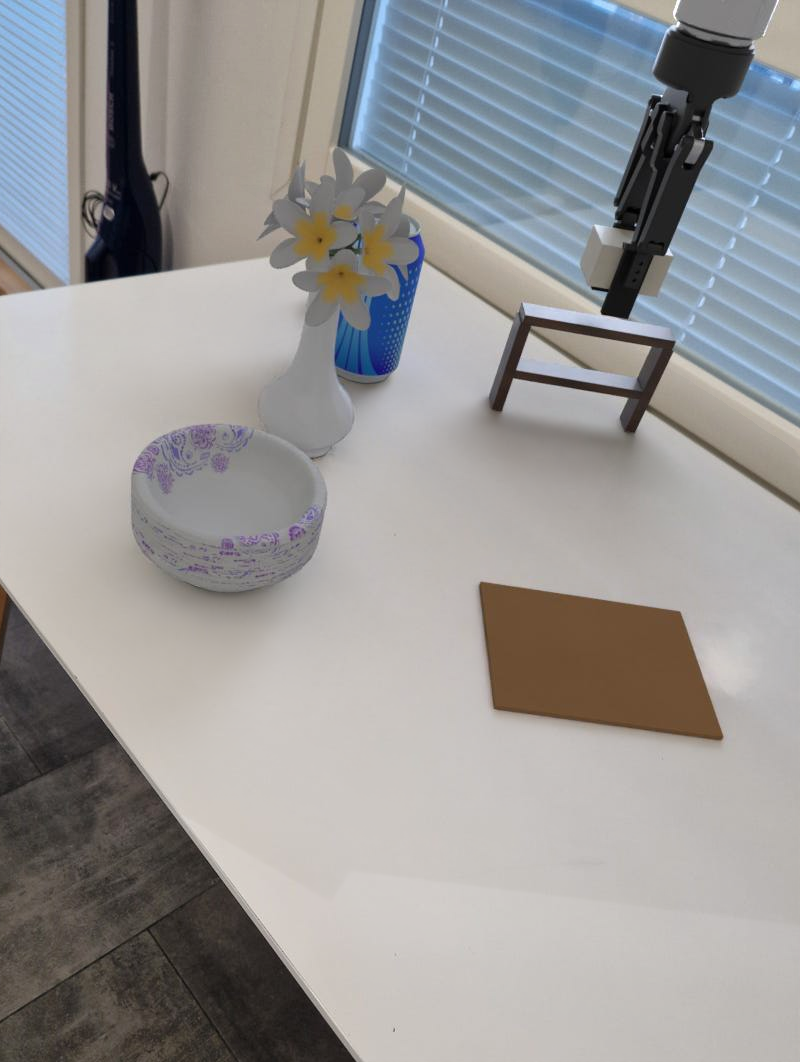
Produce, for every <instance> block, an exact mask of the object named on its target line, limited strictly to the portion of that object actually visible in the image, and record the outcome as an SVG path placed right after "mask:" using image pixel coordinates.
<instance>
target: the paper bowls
mask: <svg viewBox="0 0 800 1062" xmlns="http://www.w3.org/2000/svg"><path fill="white" fill-rule="evenodd" d="M131 470H132V471H131V476H130V489H131V490H130V492H131V493H130V512H131V513H130V525H131V530H132V535H133V538H134V541H135V542H136V544H137V546H138V548H139V550H141V552H142V553H143V555H144V556H145V557H146V558H147V559H148V560H149V561H151V563H152V564H153V565H155V566H156V567H157V568H158V569H160V570H161V571H163V572H164V573H166V574H168V575H169V576H171V577H173V578H175V579H177V580H179V581H182V582H185V583H188V584H190V585H192V586H194V587H197V588H201V589H203V590H208V591H212V592H218V593H241V592H246V591H250V590H254V589H257V588H262V587H263V588H264V587H267V586H271V585H275V584H278V583H280V582H281V581H284V580H286V579H288V578H290V577H292V576H293V575H295V574H297V573H298V572H299V571H301V570H302V569H303V567H305V566H306V565H307V564H308V563H309V561H310V560H311V559H312V558H313V556H314V554H315V552H316V550H317V548H318V546H319V541H320V536H321V534H322V533H321V532H322V528H323V522H324V518H325V512H326V510H327V505H328V489H327V485H326V481H325V479H324V477H323V474H322V472H321V470H320V469H319V467H318V466H317V465H316V463H315V462H314V461H313V460H312V458H309V457H308V456H307V455H306V454H305V453H303V452H302V451H301V450H300V449H298V448H297V447H295V446H294V445H292V444H291V443H289V442H287V441H286V440H283V439H281V438H279V437H277V436H275V435H272V434H270V433H269V432H268V431H265V430H260V429H258V428H254V427H249V426H243V425H239V424H230V423H229V424H227V423H206V424H205V423H204V424H195V425H190V426H186V427H181V428H178V429H175V430H172V431H170V432H167V433H165V434H162V435H161V436H159V437H157V438H155V439H154V440H152V441H151V442H150V443H149V444H148V445H147V446H145V448H143V450H142V451H141V453H140V454H139V455H138V456H137V457H136V459H135V462H134V464H133V468H132V469H131Z"/></svg>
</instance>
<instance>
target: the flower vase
mask: <svg viewBox="0 0 800 1062" xmlns="http://www.w3.org/2000/svg"><path fill="white" fill-rule="evenodd" d="M332 162H333V168H334V173H335V178H334V176H331V175H328V174H323V175H320V177H319V182H320V183H316V182H315V181H312V180H311V181H310V180H307V181H305V180H306V167H307V157H305V158H304V159H303V162H302V164H298V165H297V167H296V168H295V170H294V172H293V174H292V177H291V179H290V182H289V185H288V188H287V193H286V194H285V195H284V197H283V198H278V199H276V200H274V202H273V203H272V206H271V209H272V210H271V212H270V213H269V214H268V215H267V217H266V218H265V220H264V222H263V225H264V226H266V228H265V229H264V230H263V231H262V232H261V233H260V235H259V236H258V237H257V239H256V240H255V241H256V242H258V241H259V240H261V239H263V238H264V237H266V236H267V235H269V234H271V233H273V232H274V231H276V230H278V229H280V228H282V229H283V230H284V231H286V232H287V233H288V234H289V235H292V236H293V237H288V238H286V239H284V240H283V241H282V242H280V243H279V244H278V245H277V246H276V247H275V248H274V249H273V251H272V252H271V254H270V255H269V260H268V261H269V262H268V263H269V265H270V266H271V268H273V269H276V270H281V269H287V268H289V267H292V266H294V265H296V264H298V263H299V262H301V261H303V260H305V270H301V271H298V272H295V273H294V274H293V276H292V277H291V281H292V284H293V285H294V286H295V287H296V288H298V289H299V290H301V291H304V292H308V295H307V303H306V309H305V312H304V319H303V324H302V329H301V334H300V338H299V342H298V346H297V349H296V352H295V355H294V357H293V359H292V360H291V362H290V364H289V366H288V367H287V368H286V369H285V370H284V371H283V372H281V373H280V374H278V375H276V376H275V377H274V378H272V379H271V381H269V382H268V383H267V384H266V385H265V386H264V388H263V390H262V391H261V395H260V397H259V399H258V400H257V401H258V402H257V414H258V415H257V416H258V418H259V420H260V421H261V424H262V426H263V428H264V429H265V430H266V432H267V433H270V434H272V435H275V436H277V437H279V438H281V439H283V440H286V441H287V442H289V443H291V444H292V445H294V446H295V447H297V448H298V449H300V450H301V451H302V452H303V453H305V454H306V455H307V456H308V457H309V458H310V459H314V458H319V457H322V456H324V455H326V454H327V453H329V452H330V451H331V449H332V448H333V446H335V445H336V444H338V443H339V442H342V441H343V440H344V439H345V438H346V437H347V436H348V434H349V433H350V432H351V431H352V429H353V426H354V422H355V408H354V404H353V400H352V397H351V396H350V394H349V392H348V391H347V389H346V388H345V386H344V385H343V384H342V383H341V381H340V379H339V377H338V376H339V375H338V374H337V373H336V368H335V344H336V336H337V329H338V322H339V315H340V310H341V312H342V314H343V316H344V318H345V319H346V321H347V322H348V323H349V324H350V325H351V326H352V327H354V328H356V329H358V330H361V331H362V330H363V331H364V330H366V329H368V328H369V326H370V322H371V319H370V314H369V311H368V308H367V306H366V304H365V302H364V300H363V298H362V295H361V293H362V294H363V295H365V296H369V297H375V296H380V295H383V294H385V293H386V294H387V296H388V297H389V298H390V299H391V300H392V301H396V300H398V298H399V293H400V286H399V280H398V276H397V274H396V272H395V270H394V269H393V268H392V267H391V266H390V265H388V264H393V265H397V266H398V267H399V269H400V271H401V272H402V274H403V276H404V278H405V279H406V281H408V272H407V264H410V263H412V262H414V261H415V260H416V259H417V258H418V256H419V249H418V246H417V245H416V244H415V242H413V241H412V240H410V239H408V238H409V235H410V221H409V218H408V217H407V216H402V217H401V215H402V213H403V206H404V203H405V199H406V188H407V187H406V185H407V181H406V180H405V181H403V183H402V186H401V188H400V190H399V192H398V194H397V196H394V197H393V198H392V199H391V200H390V201H389V202H388V203H387V205H385V204H384V203H381V202H380V201H377V200H371V199H373V198H374V197H375V196H376V195H378V194H379V193H380V192H381V191H383V188H384V187H385V185H386V183H387V174H386V173H385V172H384V170H382V169H380V168H370V169H367V170H365V171H363V172H362V173H360V174H359V176H357V177H356V179H354V178H355V173H354V168H353V164H352V162H351V160H350V158H349V156H348V155H347V153H346V152H345V151H344V150H343V149H342V148H340V147H334V149H333V151H332ZM305 190H306V191H307V193H308V195H309V196H310V199H309V198H307V197H306V191H305ZM307 210H308V213H309V214H308V213H307ZM375 218H376V219H379V221H378V223H377V224H376V221H375ZM353 223H356V224H359V228H360V232H361V233H359V234H358V230H357V228H356V227H355V226H354V225H353ZM375 224H376V225H375ZM360 239H362V248H356V247H355V246H353V245H354V244H355V243H356V241H358V240H360ZM359 255H361V260H360V263H359V267H358V259H359ZM386 263H387V264H386ZM357 267H358V272H357ZM360 292H361V293H360Z"/></svg>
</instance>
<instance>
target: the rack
mask: <svg viewBox="0 0 800 1062" xmlns="http://www.w3.org/2000/svg"><path fill="white" fill-rule="evenodd" d="M532 327H535V328H536V327H537V328H542V329H546V330H547V329H548V330H554V331H558V332H559V331H560V332H564V333H570V334H576V335H582V336H588V337H593V338H600V339H605V340H611V341H617V342H622V343H627V344H628V343H629V344H633V345H634V344H635V345H640V346H646V347H650V350H649V351H648V353H647V355H646V358H645V360H644V362H643V365H642V367H641V369H640V371H639V373H638V375H637V377H635V376H630V375H629V376H628V375H623V374H617V373H612V372H611V373H610V372H605V371H599V370H594V369H587V368H582V367H576V366H571V365H563V364H559V363H552V362H545V361H540V360H535V359H528V358H523V357H522V354H523V351H524V348H525V346H526V343H527V340H528V337H529V334H530V331H531V329H532ZM676 343H677V340H676V338H675V336H674V334H673V332H672V330H671V328H670V327H666V326H660V325H655V324H648V323H643V322H638V321H631V320H627V319H622V318H616V317H610V316H605V315H598V314H591V313H586V312H582V311H581V312H580V311H575V310H569V309H564V308H558V307H553V306H547V305H540V304H535V303H530V302H523V301H521V303H520V306H519V309H518V310H517V311H516V312H515V316H514V318H513V321H512V325H511V327H510V331H509V334H508V337H507V340H506V343H505V346H504V349H503V351H502V355H501V358H500V361H499V364H498V367H497V370H496V373H495V376H494V379H493V383H492V386H491V389H490V392H489V394H488V395H489V402H490V407H491V408H490V409H491V410H492V411H497V412H502V411H503V409H504V407H505V404H506V401H507V398H508V394H509V392H510V389H511V386H512V384H513V380H520V381H526V382H531V383H537V384H544V385H549V386H554V387H555V386H556V387H562V388H567V389H573V390H579V391H585V392H591V393H596V394H602V395H603V394H604V395H609V396H613V397H614V396H616V397H621V398H626V399H627V400H626V402H625V404H624V407H623V409H622V411H621V413H620V415H619V420H620V422H621V425H622V428H623V430H624V432H626V433H631V434H635V433H636V432H637V429H638V428H639V425H640V423H641V421H642V420H643V417H644V415H645V413H646V411H647V408H648V406H649V405H650V402H651V400H652V398H653V396H654V394H655V392H656V390H657V388H658V386H659V384H660V382H661V379H662V377H663V375H664V373H665V370H666V369H667V366H668V364H669V363H670V361H671V359H672V356H673V354H674V351H675V350H674V348H675V345H676Z"/></svg>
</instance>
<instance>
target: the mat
mask: <svg viewBox="0 0 800 1062" xmlns="http://www.w3.org/2000/svg"><path fill="white" fill-rule="evenodd" d="M479 593H480V600H481V601H480V602H481V610H482V616H483V626H484V634H485V642H486V651H487V659H488V667H489V668H488V669H489V677H490V684H491V685H490V686H491V693H492V701H493V709H494V710H500V711H508V712H514V713H521V714H529V715H530V714H531V715H536V716H544V717H551V718H558V719H565V720H571V721H572V720H573V721H580V722H587V723H593V724H602V725H609V726H616V727H622V728H623V727H624V728H631V729H638V730H645V731H653V732H659V733H660V732H661V733H667V734H674V735H680V736H689V737H694V738H703V739H709V740H710V739H711V740H718V741H722V740H723V739H724V734H723V731H722V728H721V726H720V722H719V719H718V716H717V714H716V713H717V712H716V711H715V707H714V704H713V702H712V699H711V695H710V693H709V689H708V687H707V684H706V681H705V678H704V675H703V673H702V670H701V667H700V664H699V660H698V658H697V654H696V652H695V650H694V646H693V644H692V641H691V637H690V635H689V632H688V628H687V626H686V623H685V620H684V618H683V613H682V612H681V610H673V609H667V608H661V607H654V606H648V605H641V604H635V603H628V602H620V601H615V600H606V599H601V598H593V597H589V596H588V597H587V596H580V595H574V594H567V593H560V592H554V591H548V590H540V589H534V588H527V587H521V586H520V587H519V586H513V585H506V584H501V583H493V582H486V581H480V582H479Z"/></svg>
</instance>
